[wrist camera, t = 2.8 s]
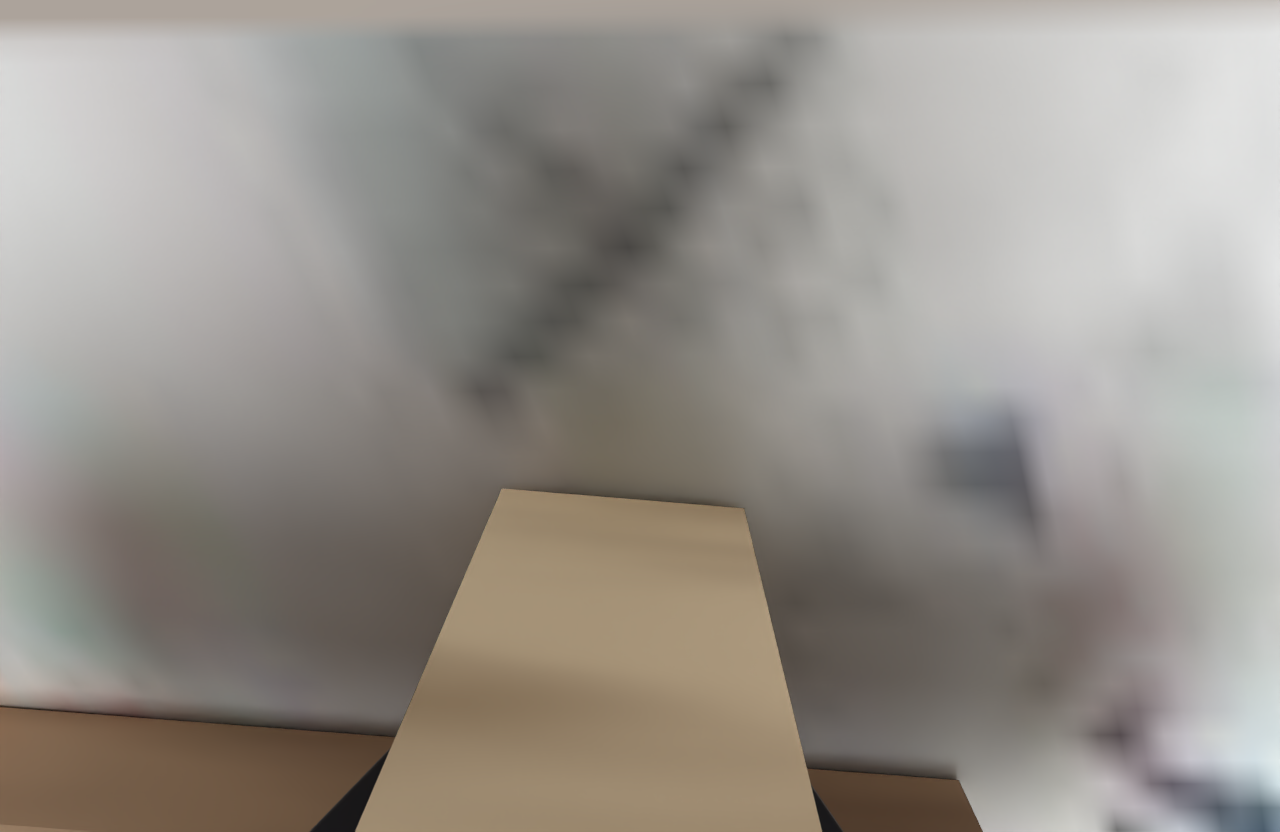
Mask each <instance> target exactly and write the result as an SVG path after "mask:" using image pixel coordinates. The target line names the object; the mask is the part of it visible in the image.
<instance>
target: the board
mask: <svg viewBox="0 0 1280 832" xmlns="http://www.w3.org/2000/svg"><path fill="white" fill-rule="evenodd" d="M394 739H395V737H386V736H372V735H359V734H346V733H333V732H320V731H307V730H294V729H281V728H267V727H254V726H241V725H228V724H215V723H202V722H189V721H176V720H163V719H149V718H136V717H123V716H110V715H97V714H84V713H71V712H58V711H44V710H31V709H18V708H5V707H0V832H309V831H310V830H311V829H312V828H313V827H314V826H315V825H316V824H317V823H318V822H319V821H320V820H321V819H322V818H323V817H324V816H325V815H326V814H327V813H328V812H329V811H330V809H331V808H332V807H333V806H334V805H335V804H336V803H337V802H338V801H339V800H340V799H341V798H342V797H343V796H344V795H345V794H346V793H347V792H348V791H349V790H350V789H351V788H352V787H353V786H354V785H355V784H356V783H357V782H358V781H359V780H360V779H361V777H362V776H363V775H364V774H365V773H366V772H367V771H368V770H369V769H370V768H371V767H372V766H373V765H374V764H375V763H376V762H377V761H378V760H379V759H380V758H381V757H382V756H383V755H384V754H385V753H386V752H387V751H388V750H389V749H390V748H391V746H392V744H393V742H394ZM807 771H808V775H809V779H810V783H811V785H812V786H813V788H814V789H815V790H816V792H817V793H818V795H819V796H820V798H821V799H822V801H823V802H824V804H825V805H826V806H827V808H828V809H829V811H830V812H831V814H832V815H833V817H834V818H835V820H836V821H837V822H838V824H839V825H840V827H841V828H842V830H843V831H844V832H983V831H982V829H981V827H980V825H979V823H978V820H977V818H976V816H975V814H974V812H973V810H972V808H971V806H970V804H969V801H968V799H967V797H966V795H965V793H964V791H963V789H962V787H961V784H960V782H959V780H950V779H936V778H923V777H910V776H897V775H884V774H871V773H858V772H845V771H831V770H818V769H807Z"/></svg>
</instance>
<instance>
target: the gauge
mask: <svg viewBox="0 0 1280 832" xmlns="http://www.w3.org/2000/svg"><path fill="white" fill-rule="evenodd" d="M355 832H822V829H821V825H820V821H819V817H818V812H817V808H816V804H815V800H814V796H813V792H812V788H811V783H810V779H809V775H808V771H807V767H806V763H805V759H804V754H803V750H802V746H801V742H800V738H799V734H798V730H797V726H796V721H795V717H794V713H793V709H792V705H791V701H790V697H789V692H788V688H787V684H786V680H785V676H784V672H783V668H782V663H781V659H780V655H779V651H778V647H777V643H776V639H775V634H774V630H773V626H772V622H771V618H770V614H769V610H768V606H767V601H766V597H765V593H764V589H763V585H762V581H761V577H760V572H759V568H758V564H757V560H756V556H755V552H754V548H753V543H752V539H751V535H750V531H749V527H748V523H747V519H746V515H745V510H744V508H733V507H721V506H709V505H697V504H685V503H673V502H661V501H648V500H636V499H624V498H612V497H600V496H588V495H575V494H563V493H551V492H539V491H527V490H515V489H501V492H500V494H499V496H498V499H497V501H496V503H495V506H494V508H493V510H492V513H491V515H490V517H489V520H488V522H487V524H486V527H485V529H484V531H483V534H482V536H481V538H480V541H479V543H478V545H477V548H476V550H475V552H474V555H473V557H472V559H471V562H470V564H469V566H468V569H467V571H466V573H465V576H464V578H463V580H462V583H461V585H460V587H459V590H458V592H457V594H456V597H455V599H454V601H453V604H452V606H451V608H450V611H449V613H448V615H447V618H446V620H445V622H444V625H443V627H442V629H441V632H440V634H439V636H438V639H437V641H436V643H435V646H434V648H433V650H432V653H431V655H430V657H429V660H428V662H427V664H426V667H425V669H424V671H423V674H422V676H421V679H420V681H419V683H418V686H417V688H416V690H415V693H414V695H413V697H412V700H411V702H410V704H409V707H408V709H407V711H406V714H405V716H404V718H403V721H402V723H401V725H400V728H399V730H398V732H397V735H396V737H395V739H394V742H393V744H392V746H391V749H390V751H389V753H388V756H387V758H386V760H385V763H384V765H383V767H382V770H381V772H380V774H379V777H378V779H377V781H376V784H375V786H374V788H373V791H372V793H371V795H370V798H369V800H368V802H367V805H366V807H365V809H364V812H363V814H362V816H361V819H360V821H359V823H358V826H357V828H356V830H355Z"/></svg>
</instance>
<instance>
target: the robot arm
mask: <svg viewBox="0 0 1280 832" xmlns="http://www.w3.org/2000/svg"><path fill="white" fill-rule="evenodd" d="M390 749H391V748H390ZM390 749H389V750H388V751H387V752H386V753H385V754H384V755H383V756H382V757H381V758H380V759H379V760H378V761H377V762H376V763H375V764H374V765H373V766H372V767H371V768H370V769H369V770H368V771H367V772H366V773H365V774H364V775H363V776H362V777H361V779H360V780H359V781H358V782H357V783H356V784H355V785H354V786H353V787H352V788H351V789H350V790H349V791H348V792H347V793H346V794H345V795H344V796H343V797H342V798H341V799H340V800H339V801H338V802H337V803H336V804H335V805H334V806H333V807H332V808H331V809H330V811H329V812H328V813H327V814H326V815H325V816H324V817H323V818H322V819H321V820H320V821H319V822H318V823H317V824H316V825H315V826H314V827H313V828H312V829H311V830H310V831H309V832H355V830H356V828H357V826H358V823H359V821H360V819H361V816H362V814H363V812H364V809H365V807H366V805H367V802H368V800H369V798H370V795H371V793H372V791H373V788H374V786H375V784H376V781H377V779H378V777H379V774H380V772H381V770H382V767H383V765H384V763H385V760H386V758H387V756H388V753H389V751H390ZM811 788H812V792H813V796H814V800H815V804H816V808H817V812H818V817H819V821H820V825H821V829H822V832H844V831H843V830H842V828H841V827H840V825H839V824H838V822H837V821H836V820H835V818H834V817H833V815H832V814H831V812H830V811H829V809H828V808H827V806H826V805H825V804H824V802H823V801H822V799H821V798H820V796H819V795H818V793H817V792H816V790H815V789H814V788H813V786H812V785H811Z"/></svg>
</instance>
